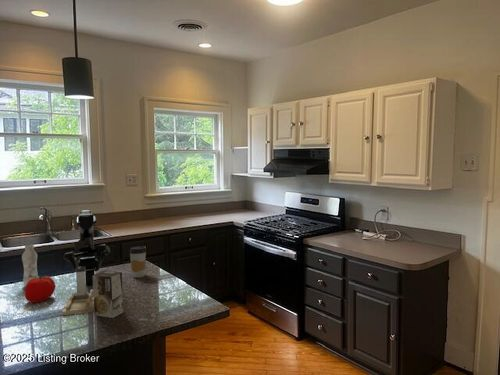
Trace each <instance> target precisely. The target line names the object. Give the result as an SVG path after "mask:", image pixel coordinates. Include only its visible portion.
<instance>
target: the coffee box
mask: <svg viewBox="0 0 500 375" xmlns="http://www.w3.org/2000/svg"><path fill="white" fill-rule="evenodd" d="M122 273H123V272H122V271H112V270H111V271H110V270H102V271H99V272H97V273H95V275H93V284H92V287H93V293H94V309H93V312H94V317H95V316H96V317H103V318H109V319H111V318H112V319H114V318H116V317H118V316H119V315H121V314H123V313H124V296H123V274H122Z"/></svg>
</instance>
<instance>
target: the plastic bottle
mask: <svg viewBox="0 0 500 375" xmlns="http://www.w3.org/2000/svg"><path fill="white" fill-rule="evenodd" d="M34 249H35V246H34V244H33V243H32V244H25V245H24V252H23V253H22V254H21V261H22V264H23V279H22V283H23V285H24V287H26V284H27V283H28V282H29V281H30V280H31V279H33V278H35V277H36V278H37V277H39V275H38V265H37V264H38V262H37V261H38V253H37V252H36V251H35V250H34Z"/></svg>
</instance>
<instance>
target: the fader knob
mask: <svg viewBox="0 0 500 375" xmlns="http://www.w3.org/2000/svg"><path fill="white" fill-rule="evenodd" d="M85 271H86V267H85V266H80V267H76V271H75V275H76V276H75V279H76V281H75V282H76V293H75V296H74V299H83V298H88V296H89V293H90V291H87V286H86V275H85Z"/></svg>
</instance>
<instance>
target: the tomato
mask: <svg viewBox="0 0 500 375" xmlns="http://www.w3.org/2000/svg"><path fill="white" fill-rule="evenodd" d="M24 287H25V288H24V298H25V300H27V301H28V302H29V303H39V302H43V301H46V300H48V299H50V297H52V296H53V294H55V293H54V292H55V290H56V282H55V281H54V279H53V278H52V277H51V276H48V275H46V276H38V277H37V278H36V277H35V278H33V279H31V280H30V281H29V282H28V283H27V284H26V286H24Z"/></svg>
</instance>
